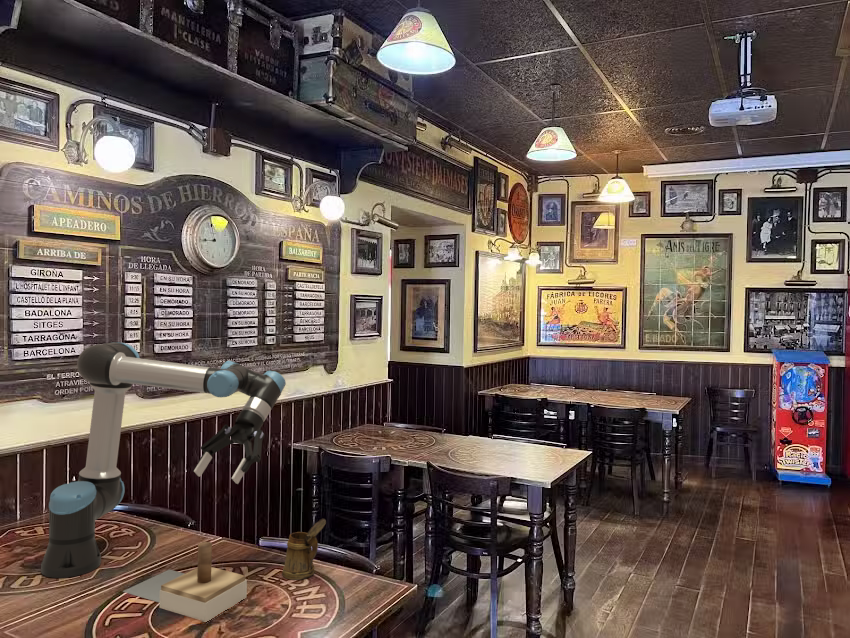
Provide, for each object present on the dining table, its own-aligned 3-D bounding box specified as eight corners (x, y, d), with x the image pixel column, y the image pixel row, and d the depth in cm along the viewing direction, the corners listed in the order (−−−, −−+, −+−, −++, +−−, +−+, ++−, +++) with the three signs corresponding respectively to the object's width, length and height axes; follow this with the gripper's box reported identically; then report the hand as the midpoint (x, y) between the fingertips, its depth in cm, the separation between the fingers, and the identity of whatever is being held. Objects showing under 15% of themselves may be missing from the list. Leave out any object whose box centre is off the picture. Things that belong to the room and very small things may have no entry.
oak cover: (161, 590, 159) (162, 548, 159) (203, 569, 172) (204, 530, 172) (204, 602, 153) (206, 559, 153) (245, 580, 166) (246, 540, 166)
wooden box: (159, 610, 159) (159, 590, 159) (202, 586, 172) (203, 568, 172) (205, 623, 153) (205, 603, 153) (246, 598, 166) (246, 579, 166)
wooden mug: (310, 587, 174) (312, 522, 174) (275, 575, 181) (277, 513, 181) (332, 576, 182) (333, 514, 181) (297, 564, 189) (299, 505, 189)
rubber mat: (122, 593, 167) (122, 591, 167) (169, 571, 182) (169, 569, 181) (164, 606, 161) (164, 603, 161) (209, 582, 175) (209, 580, 175)
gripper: (292, 428, 186) (257, 491, 173) (226, 419, 196) (188, 478, 183) (281, 412, 181) (245, 476, 168) (214, 404, 191) (175, 463, 178)
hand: (215, 477), depth 175 cm, fingers open, 13 cm apart
